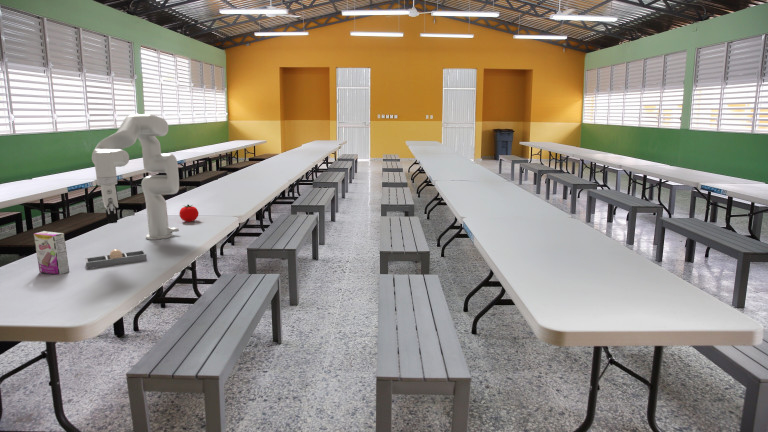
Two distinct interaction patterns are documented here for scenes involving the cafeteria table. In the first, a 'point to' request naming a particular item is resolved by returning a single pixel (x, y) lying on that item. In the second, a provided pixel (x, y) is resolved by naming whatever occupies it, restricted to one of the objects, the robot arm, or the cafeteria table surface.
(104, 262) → the tray
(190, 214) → the tomato
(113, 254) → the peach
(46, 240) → the candy bar box
